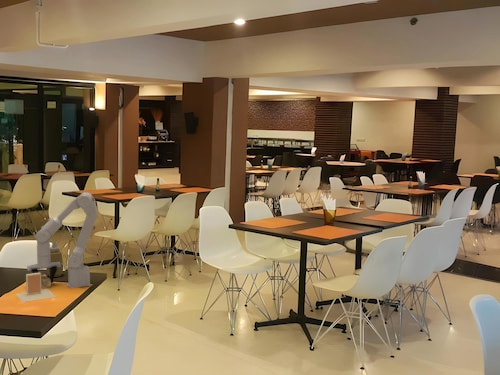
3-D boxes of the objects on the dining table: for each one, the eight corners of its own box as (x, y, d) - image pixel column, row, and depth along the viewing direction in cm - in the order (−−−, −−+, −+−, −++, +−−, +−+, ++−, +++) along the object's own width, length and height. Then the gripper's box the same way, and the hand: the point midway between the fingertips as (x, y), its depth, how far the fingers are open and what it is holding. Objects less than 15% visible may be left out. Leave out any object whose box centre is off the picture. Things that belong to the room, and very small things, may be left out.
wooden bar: (45, 283, 265) (45, 274, 265) (50, 289, 257) (50, 279, 256) (38, 284, 264) (38, 275, 263) (44, 290, 255) (43, 280, 255)
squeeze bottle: (66, 274, 282) (65, 239, 280) (59, 278, 274) (58, 242, 272) (51, 273, 283) (50, 238, 281) (43, 277, 275) (42, 241, 273)
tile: (40, 292, 250) (40, 272, 249) (41, 293, 249) (41, 273, 248) (26, 294, 247) (25, 274, 246) (27, 295, 246) (26, 275, 245)
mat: (48, 289, 255) (47, 288, 255) (56, 297, 244) (56, 296, 244) (15, 294, 247) (15, 293, 247) (22, 303, 236) (22, 302, 236)
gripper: (57, 251, 266) (58, 279, 267) (25, 255, 258) (26, 283, 259) (61, 254, 260) (62, 282, 262) (28, 258, 252) (29, 287, 253)
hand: (44, 283), depth 260 cm, fingers open, 6 cm apart
